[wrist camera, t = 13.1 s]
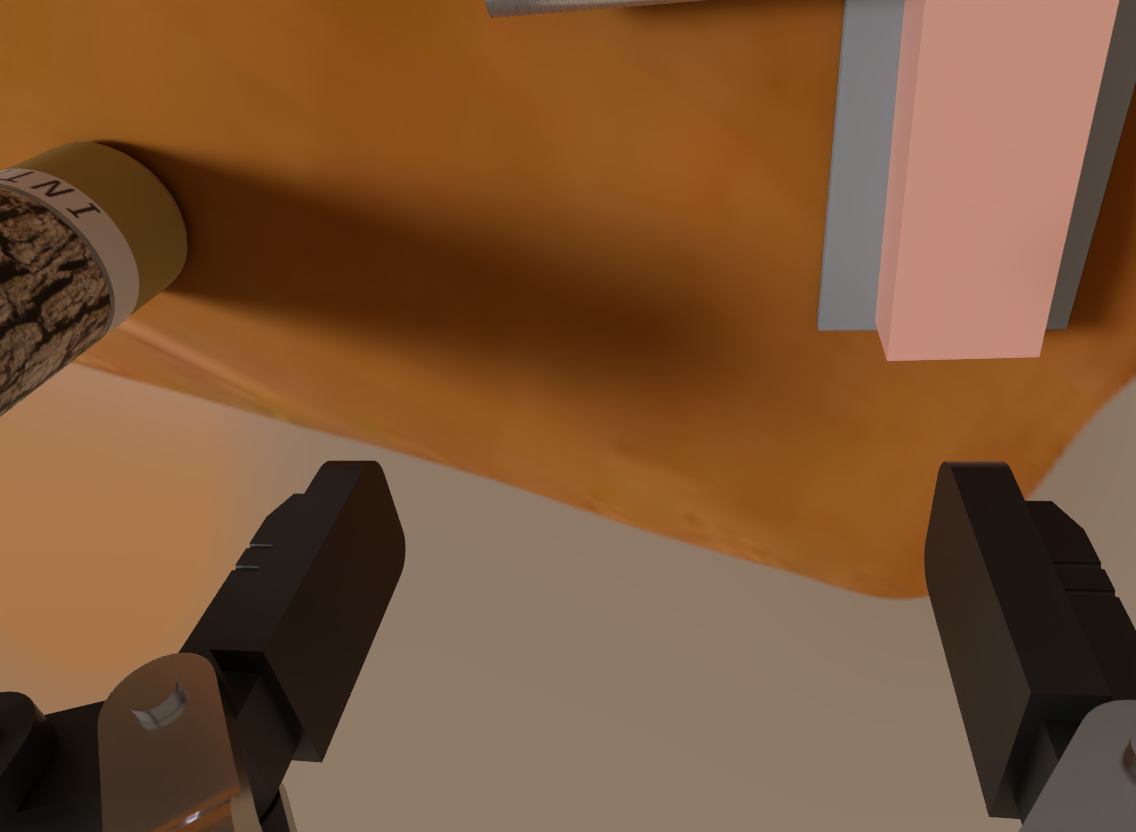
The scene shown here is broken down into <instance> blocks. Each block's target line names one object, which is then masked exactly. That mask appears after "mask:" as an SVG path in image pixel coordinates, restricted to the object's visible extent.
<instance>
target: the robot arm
mask: <svg viewBox="0 0 1136 832" xmlns="http://www.w3.org/2000/svg"><path fill="white" fill-rule="evenodd" d="M404 561H405V537H404V533H403V529H402V526H401V523H400V520H399V517H398V514H397V511H396V508H395V505H394V502H393V499H392V496H391V493H390V490H389V487H388V484H387V481H386V478H385V475H384V472H383V469H382V468H381V466H380V464H379V463H378V462H376V461H327V462H325V463H324V464H323V465H322V466H321V468H320V469H319V471H318V472H317V474H316V476H315V477H314V479H313V480H312V482H311V484H310V485H309V487H308V489H307V490H306V492H305V493H304V494H293V495H292V496H291V497H289V498H288V499H287V500H286V501H285V502H284V503H283V504H281V505H280V506H279V507H278V508H276V510H274V511H273V512H272V513H271V514H270V515H268V516H267V517H266V519H265V520H264V522H263V523H262V525H261V526H260V528H259V530H258V531H257V533H256V534H255V536H254V537H253V539H252V540H251V542H250V548H246V550H245V551H244V553H243V554H242V556H241V557H240V559H239V560H238V562H237V564H236V569H235V570H232V571H231V573H230V574H229V576H228V577H227V579H226V581H225V582H224V583H223V585H222V587H221V588H220V590H219V591H218V593H217V594H216V596H215V597H214V599H213V600H212V602H211V603H210V605H209V607H208V608H207V610H206V611H205V613H204V614H203V616H202V617H201V619H200V621H199V622H198V624H197V625H196V627H195V628H194V630H193V631H192V633H191V634H190V636H189V638H188V639H187V641H186V642H185V644H184V645H183V647H182V648H181V650H180V651H179V652H178V653H176V654H170V655H166V656H162V657H160V658H157V659H155V660H152V661H150V662H149V663H147V664H144V665H143V666H141V667H139V668H138V669H136V670H135V671H133V672H132V673H131V674H129V675H128V676H127V677H126V678H124V680H122V681H121V682H120V683H119V684H118V685H117V686H116V687H115V688H114V690H113V691H112V692H111V693H110V695H109V696H108V698H107V699H106V700H105V701H101V702H97V703H93V704H89V705H85V706H81V707H77V708H72V709H68V710H64V711H59V712H55V713H51V714H47V715H43V713H42V712H41V711H40V710H39V709H38V707H37V706H36V705H35V704H34V703H33V701H32V700H31V699H30V698H29V697H27V696H26V695H24V694H22V693H18V692H0V832H297V829H296V825H295V822H294V818H293V814H292V810H291V807H290V803H289V799H288V795H287V792H286V789H285V787H284V785H283V783H282V780H283V778H284V775H285V773H286V771H287V769H288V767H289V764H290V762H291V760H297V761H310V762H322V761H323V759H324V756H325V754H326V752H327V749H328V747H329V744H330V742H331V740H332V737H333V735H334V733H335V730H336V728H337V725H338V723H339V721H340V718H341V716H342V713H343V711H344V709H345V706H346V704H347V701H348V699H349V697H350V695H351V692H352V690H353V687H354V685H355V683H356V680H357V678H358V676H359V673H360V671H361V668H362V666H363V664H364V661H365V659H366V657H367V654H368V652H369V649H370V647H371V645H372V642H373V640H374V637H375V635H376V633H377V630H378V628H379V626H380V623H381V621H382V619H383V616H384V614H385V611H386V609H387V606H388V604H389V602H390V599H391V597H392V595H393V592H394V590H395V588H396V585H397V583H398V581H399V578H400V576H401V573H402V570H403V566H404ZM924 564H925V577H926V584H927V589H928V593H929V596H930V600H931V604H932V607H933V611H934V615H935V619H936V622H937V626H938V629H939V633H940V637H941V641H942V645H943V648H944V652H945V656H946V659H947V663H948V667H949V670H950V674H951V678H952V682H953V685H954V689H955V693H956V696H957V700H958V704H959V708H960V711H961V714H962V719H963V722H964V726H965V730H966V733H967V737H968V741H969V745H970V748H971V752H972V756H973V759H974V763H975V767H976V770H977V774H978V778H979V782H980V785H981V789H982V793H983V796H984V800H985V804H986V807H987V811H988V815H989V817H1000V818H1014V819H1021V822H1022V827H1021V829H1020V830H1019V832H1136V630H1135V628H1134V626H1133V624H1132V622H1131V620H1130V618H1129V616H1128V614H1127V612H1126V611H1125V608H1124V607H1123V605H1122V603H1121V601H1120V599H1119V597H1116V596H1115V589H1114V587H1113V586H1112V583H1111V581H1110V579H1109V577H1108V575H1107V573H1106V571H1105V570H1104V569H1101V562H1100V560H1099V558H1098V556H1097V554H1096V552H1095V550H1094V548H1093V546H1092V544H1091V542H1090V540H1089V538H1088V537H1087V534H1086V533H1085V531H1084V529H1083V528H1082V527H1080V526H1079V525H1078V524H1077V523H1076V522H1075V521H1074V520H1073V519H1071V518H1070V517H1069V516H1068V515H1067V514H1066V513H1064V512H1063V511H1062V510H1061V509H1060V508H1059V507H1058V506H1057V505H1055V504H1054V503H1053V502H1052V501H1025V500H1024V498H1023V495H1022V493H1021V491H1020V489H1019V487H1018V484H1017V482H1016V480H1015V478H1014V475H1013V473H1012V471H1011V469H1010V467H1009V466H1008V464H1007V463H1005V462H943V463H942V464H941V466H940V469H939V472H938V477H937V482H936V488H935V493H934V499H933V504H932V509H931V515H930V520H929V526H928V531H927V537H926V543H925V554H924Z"/></svg>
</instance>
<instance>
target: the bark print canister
mask: <svg viewBox="0 0 1136 832" xmlns="http://www.w3.org/2000/svg"><path fill="white" fill-rule="evenodd" d="M186 256H187V233H186V227H185V223H184V220H183V217H182V214H181V212H180V210H179V207H178V205H177V204H176V202H175V200H174V198H173V197H172V195H171V194H170V192H169V191H168V189H167V188H166V187H165V186H164V184H163V183H162V182H161V181H160V180H159V179H158V178H157V177H156V176H155V175H154V174H153V173H152V172H151V171H150V170H149V169H148V168H146V167H145V166H144V165H143V164H141V163H140V162H138V161H137V160H135V159H134V158H132V157H130V156H129V155H127V154H125V153H123V152H120V151H118V150H116V149H113V148H111V147H108V146H105V145H102V144H97V143H91V142H74V143H68V144H64V145H61V146H58V147H56V148H53V149H51V150H49V151H46V152H44V153H42V154H40V155H37V156H35V157H33V158H30V159H28V160H26V161H24V162H21V163H19V164H17V165H14V166H12V167H10V168H7V169H5V170H3V171H0V416H2V415H3V414H4V413H6V412H7V411H8V410H10V409H11V408H12V407H14V406H15V405H16V404H17V403H18V402H20V401H21V400H23V399H24V398H25V397H26V396H28V395H29V394H30V393H32V392H33V391H34V390H35V389H37V388H38V387H39V386H41V385H42V384H43V383H45V382H46V381H47V380H48V379H50V378H51V377H52V376H54V375H55V374H56V373H57V372H59V371H60V370H61V369H63V368H64V367H65V366H67V365H68V364H69V363H70V362H72V361H73V360H74V359H76V358H77V357H78V356H79V355H81V354H82V353H83V352H85V351H86V350H87V349H89V348H90V347H91V346H92V345H94V344H95V343H96V342H97V341H99V340H100V339H101V338H103V337H104V336H105V335H107V334H108V333H109V332H111V331H112V330H113V329H114V328H116V327H117V326H118V325H120V324H121V323H122V322H123V321H125V320H126V319H127V318H128V317H129V316H130V315H131V314H133V313H134V312H135V311H137V310H138V309H139V308H141V307H142V306H143V305H144V304H146V303H147V302H148V301H150V300H151V299H152V298H153V297H155V296H156V295H157V294H159V293H160V292H161V291H163V290H164V289H165V288H166V287H168V286H169V285H170V284H171V283H172V282H173V281H174V280H175V279H176V278H177V277H178V275H179V274H180V273H181V271H182V269H183V267H184V264H185V261H186Z"/></svg>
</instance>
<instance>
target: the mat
mask: <svg viewBox="0 0 1136 832" xmlns="http://www.w3.org/2000/svg"><path fill="white" fill-rule="evenodd" d="M904 4H905V0H845V8H844V20H843V31H842V43H841V54H840V66H839V77H838V89H837V100H836V112H835V123H834V135H833V146H832V158H831V169H830V181H829V192H828V204H827V215H826V227H825V238H824V250H823V261H822V273H821V284H820V296H819V307H818V319H817V326H818V330H877V327H876V324H875V316H876V306H877V295H878V284H879V273H880V263H881V252H882V241H883V230H884V220H885V209H886V198H887V187H888V176H889V166H890V155H891V144H892V133H893V123H894V112H895V101H896V90H897V79H898V69H899V58H900V47H901V36H902V26H903V15H904ZM1135 83H1136V0H1119V4H1118V8H1117V13H1116V17H1115V22H1114V26H1113V31H1112V35H1111V40H1110V44H1109V48H1108V53H1107V57H1106V62H1105V66H1104V71H1103V75H1102V80H1101V84H1100V89H1099V93H1098V97H1097V102H1096V106H1095V111H1094V115H1093V120H1092V124H1091V129H1090V133H1089V138H1088V142H1087V147H1086V151H1085V155H1084V160H1083V164H1082V169H1081V173H1080V178H1079V182H1078V187H1077V191H1076V196H1075V200H1074V204H1073V209H1072V213H1071V218H1070V222H1069V227H1068V231H1067V236H1066V240H1065V245H1064V249H1063V253H1062V258H1061V262H1060V267H1059V271H1058V276H1057V280H1056V285H1055V289H1054V294H1053V298H1052V303H1051V307H1050V311H1049V316H1048V320H1047V325H1046V329H1066V328H1067V325H1068V321H1069V318H1070V314H1071V311H1072V307H1073V304H1074V300H1075V296H1076V293H1077V289H1078V286H1079V282H1080V279H1081V275H1082V272H1083V268H1084V264H1085V261H1086V257H1087V254H1088V250H1089V247H1090V243H1091V239H1092V236H1093V232H1094V229H1095V225H1096V222H1097V218H1098V215H1099V211H1100V207H1101V204H1102V200H1103V197H1104V193H1105V190H1106V186H1107V183H1108V179H1109V175H1110V172H1111V168H1112V165H1113V161H1114V158H1115V154H1116V150H1117V147H1118V143H1119V140H1120V136H1121V133H1122V129H1123V126H1124V122H1125V118H1126V115H1127V111H1128V108H1129V104H1130V101H1131V97H1132V94H1133V90H1134V86H1135Z"/></svg>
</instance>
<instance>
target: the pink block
mask: <svg viewBox="0 0 1136 832" xmlns="http://www.w3.org/2000/svg"><path fill="white" fill-rule="evenodd" d="M1118 4H1119V0H905V4H904V15H903V26H902V36H901V47H900V58H899V69H898V79H897V90H896V101H895V112H894V123H893V133H892V144H891V155H890V166H889V176H888V187H887V198H886V209H885V220H884V230H883V241H882V252H881V263H880V273H879V284H878V295H877V306H876V316H875V324H876V327H877V330H878V333H879V336H880V340H881V343H882V346H883V349H884V352H885V356H886V359H887V361H904V360H943V359H981V358H1020V357H1039V356H1040V352H1041V347H1042V343H1043V338H1044V334H1045V329H1046V325H1047V320H1048V316H1049V311H1050V307H1051V303H1052V298H1053V294H1054V289H1055V285H1056V280H1057V276H1058V271H1059V267H1060V262H1061V258H1062V253H1063V249H1064V245H1065V240H1066V236H1067V231H1068V227H1069V222H1070V218H1071V213H1072V209H1073V204H1074V200H1075V196H1076V191H1077V187H1078V182H1079V178H1080V173H1081V169H1082V164H1083V160H1084V155H1085V151H1086V147H1087V142H1088V138H1089V133H1090V129H1091V124H1092V120H1093V115H1094V111H1095V106H1096V102H1097V97H1098V93H1099V89H1100V84H1101V80H1102V75H1103V71H1104V66H1105V62H1106V57H1107V53H1108V48H1109V44H1110V40H1111V35H1112V31H1113V26H1114V22H1115V17H1116V13H1117V8H1118Z"/></svg>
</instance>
